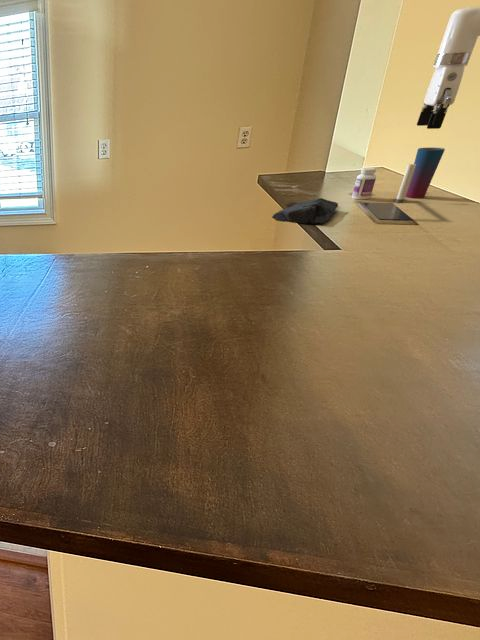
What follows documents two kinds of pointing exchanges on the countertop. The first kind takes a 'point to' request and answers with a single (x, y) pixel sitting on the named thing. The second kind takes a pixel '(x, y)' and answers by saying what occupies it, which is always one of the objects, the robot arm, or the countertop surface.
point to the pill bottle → (364, 184)
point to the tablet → (385, 213)
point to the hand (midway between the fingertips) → (427, 126)
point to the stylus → (405, 183)
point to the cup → (424, 171)
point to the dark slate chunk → (308, 212)
